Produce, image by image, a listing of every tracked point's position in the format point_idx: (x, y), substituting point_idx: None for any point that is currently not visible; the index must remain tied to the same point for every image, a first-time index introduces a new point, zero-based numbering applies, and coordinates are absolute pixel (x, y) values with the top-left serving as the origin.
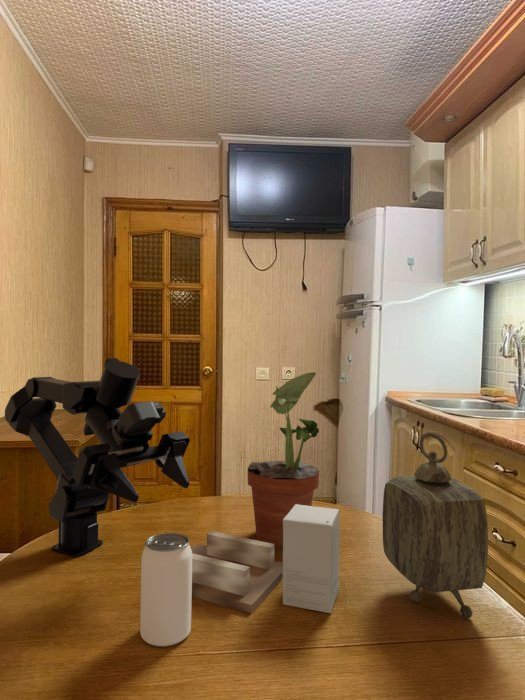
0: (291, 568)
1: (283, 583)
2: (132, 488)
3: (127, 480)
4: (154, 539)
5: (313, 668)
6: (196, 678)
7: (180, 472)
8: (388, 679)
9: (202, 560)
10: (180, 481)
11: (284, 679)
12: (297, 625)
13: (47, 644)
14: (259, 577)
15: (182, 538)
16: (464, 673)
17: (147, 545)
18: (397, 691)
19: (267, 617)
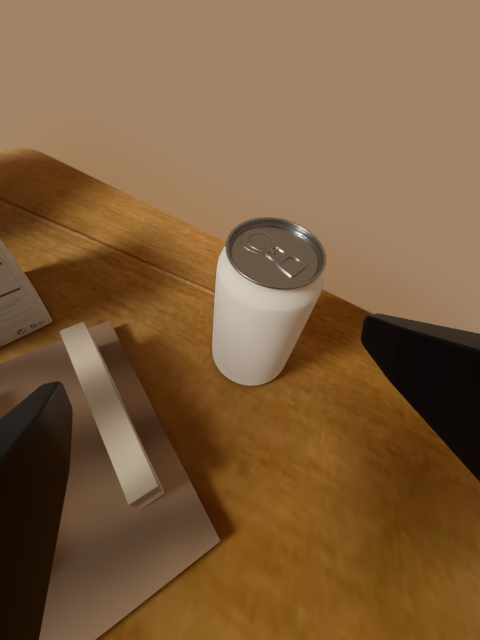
0: (17, 267)
1: (36, 299)
2: (411, 325)
3: (465, 343)
4: (296, 282)
5: (135, 228)
6: None
7: (24, 448)
8: (92, 192)
9: (121, 411)
10: (60, 451)
11: (171, 232)
12: (83, 278)
13: (413, 417)
14: (13, 389)
15: (233, 259)
16: (30, 168)
17: (318, 267)
18: (100, 183)
19: (100, 310)
